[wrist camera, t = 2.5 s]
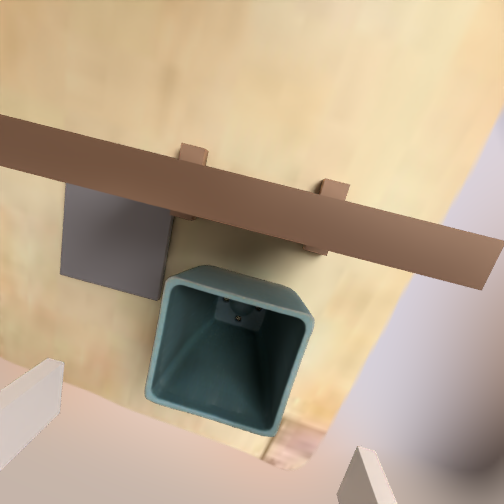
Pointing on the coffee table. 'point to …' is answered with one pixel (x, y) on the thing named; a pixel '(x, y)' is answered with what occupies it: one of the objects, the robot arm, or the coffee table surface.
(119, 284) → the mat
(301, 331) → the flower pot
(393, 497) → the robot arm
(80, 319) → the coffee table surface
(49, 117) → the coffee table surface
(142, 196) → the screen
